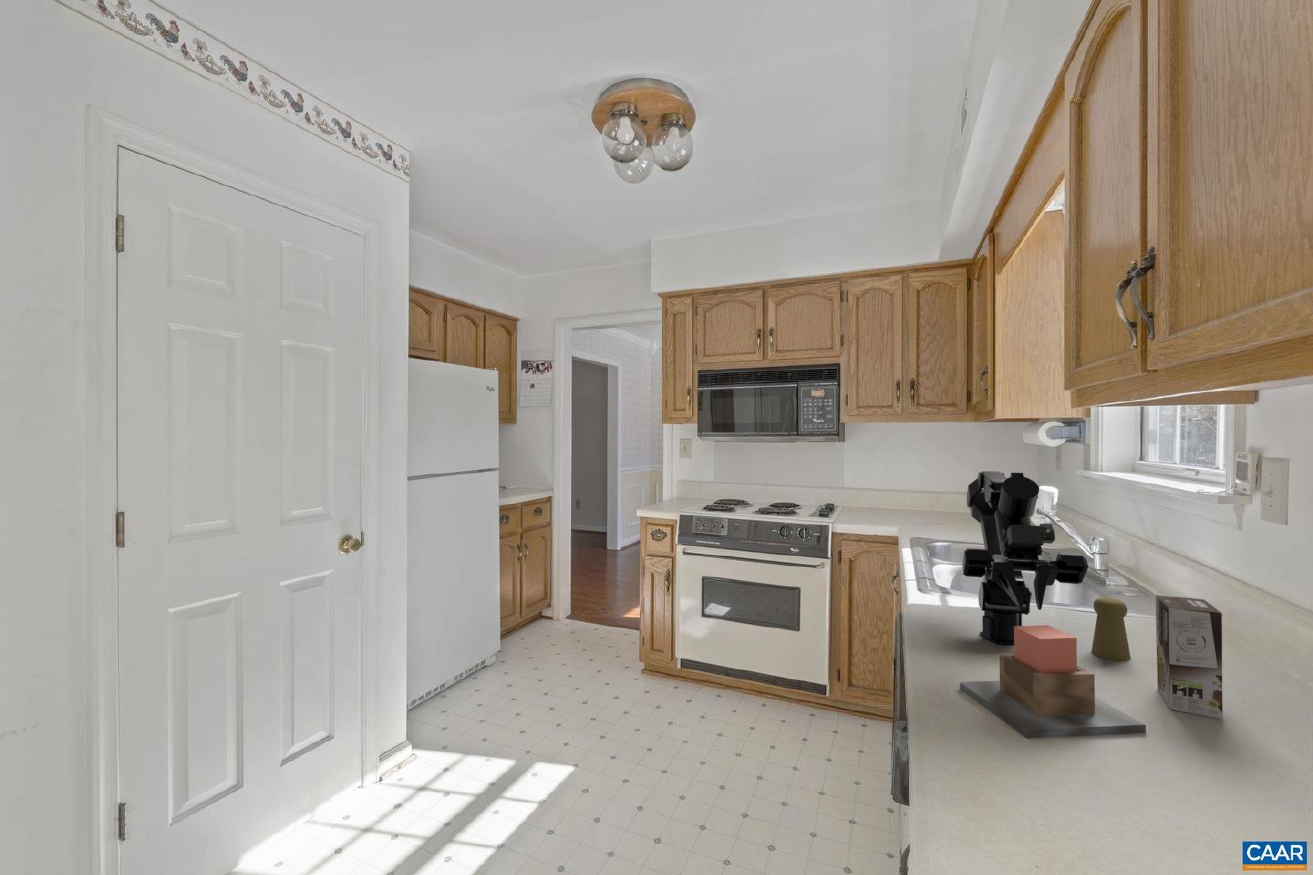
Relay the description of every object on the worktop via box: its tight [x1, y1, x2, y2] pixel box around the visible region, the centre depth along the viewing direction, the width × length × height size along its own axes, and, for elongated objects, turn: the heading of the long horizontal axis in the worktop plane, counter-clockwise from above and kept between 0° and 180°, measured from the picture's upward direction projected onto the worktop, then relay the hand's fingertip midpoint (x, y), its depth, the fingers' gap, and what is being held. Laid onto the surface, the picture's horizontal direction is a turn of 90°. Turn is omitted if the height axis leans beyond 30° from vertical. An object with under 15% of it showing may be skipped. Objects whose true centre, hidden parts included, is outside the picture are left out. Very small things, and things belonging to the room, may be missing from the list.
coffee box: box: [1155, 594, 1223, 720], centre depth 91 cm, size 9×6×16 cm
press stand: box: [959, 652, 1147, 739], centre depth 90 cm, size 18×16×7 cm
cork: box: [1091, 596, 1132, 662], centre depth 111 cm, size 6×6×11 cm
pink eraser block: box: [1013, 624, 1078, 673], centre depth 90 cm, size 6×6×6 cm
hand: (1030, 607), depth 98 cm, fingers open, 3 cm apart
